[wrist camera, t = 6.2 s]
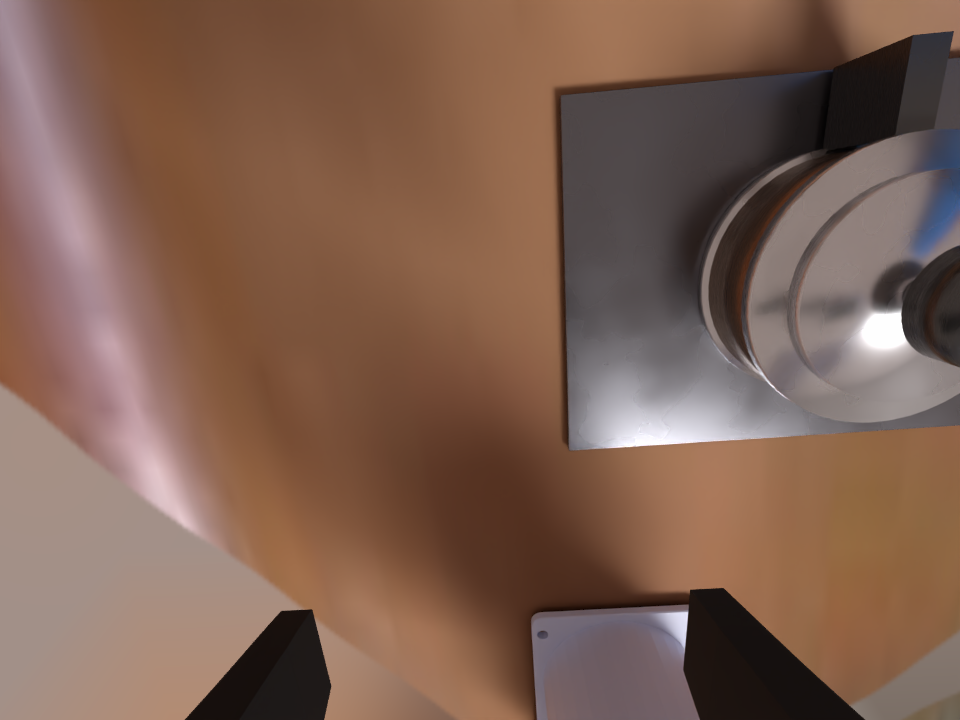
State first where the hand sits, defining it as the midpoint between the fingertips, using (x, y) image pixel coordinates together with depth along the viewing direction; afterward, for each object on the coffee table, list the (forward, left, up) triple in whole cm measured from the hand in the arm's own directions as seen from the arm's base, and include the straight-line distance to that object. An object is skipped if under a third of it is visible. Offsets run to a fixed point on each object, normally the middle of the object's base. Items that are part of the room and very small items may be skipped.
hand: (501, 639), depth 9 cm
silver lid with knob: (+5, -12, -7) cm, 14 cm away
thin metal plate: (+5, -12, -10) cm, 17 cm away
